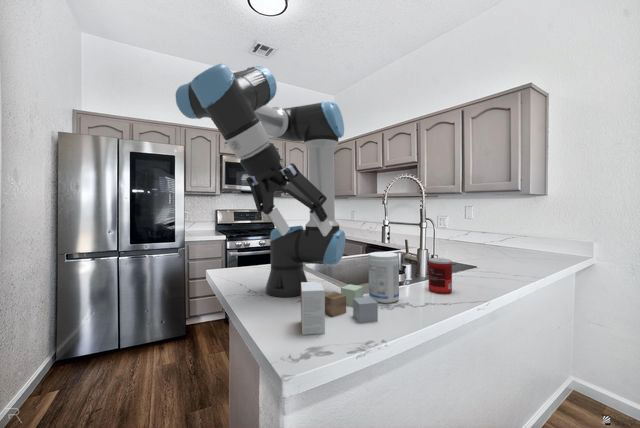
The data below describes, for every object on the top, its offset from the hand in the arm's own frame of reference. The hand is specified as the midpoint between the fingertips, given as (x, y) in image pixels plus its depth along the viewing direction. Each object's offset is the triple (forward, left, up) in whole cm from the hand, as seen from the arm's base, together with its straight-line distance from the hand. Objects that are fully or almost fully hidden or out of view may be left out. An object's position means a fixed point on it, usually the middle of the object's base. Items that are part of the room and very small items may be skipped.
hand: (305, 232), depth 64 cm
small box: (-4, +3, -24) cm, 25 cm away
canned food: (-9, +56, -24) cm, 62 cm away
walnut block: (-10, +13, -24) cm, 29 cm away
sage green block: (-14, +22, -24) cm, 36 cm away
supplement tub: (-12, +33, -24) cm, 43 cm away
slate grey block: (-2, +18, -24) cm, 30 cm away
